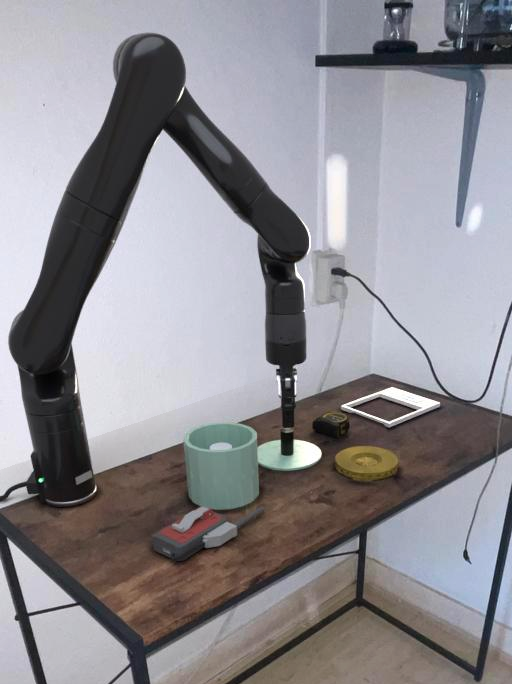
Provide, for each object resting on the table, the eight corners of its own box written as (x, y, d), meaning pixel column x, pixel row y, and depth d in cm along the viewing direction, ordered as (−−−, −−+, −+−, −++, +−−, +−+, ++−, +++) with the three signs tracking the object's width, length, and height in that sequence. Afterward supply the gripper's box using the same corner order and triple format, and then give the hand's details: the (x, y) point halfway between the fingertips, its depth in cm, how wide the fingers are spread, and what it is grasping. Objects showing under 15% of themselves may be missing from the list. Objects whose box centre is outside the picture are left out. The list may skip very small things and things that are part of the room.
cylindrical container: (186, 513, 119) (180, 452, 113) (192, 479, 130) (187, 423, 124) (259, 510, 119) (256, 450, 113) (259, 477, 130) (256, 421, 124)
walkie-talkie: (185, 572, 103) (267, 517, 117) (182, 547, 101) (267, 494, 115) (145, 553, 108) (229, 502, 122) (141, 529, 106) (227, 480, 119)
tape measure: (310, 433, 148) (310, 417, 146) (331, 424, 152) (331, 408, 150) (335, 442, 143) (335, 426, 142) (355, 432, 148) (356, 416, 146)
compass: (373, 451, 139) (373, 441, 138) (410, 474, 130) (411, 463, 129) (323, 464, 134) (323, 454, 133) (358, 489, 125) (359, 478, 124)
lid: (253, 474, 131) (251, 445, 128) (253, 445, 143) (252, 417, 140) (324, 472, 132) (324, 443, 128) (318, 443, 143) (318, 415, 140)
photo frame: (440, 401, 159) (389, 422, 149) (440, 406, 160) (388, 427, 150) (392, 386, 169) (341, 404, 158) (392, 390, 169) (340, 409, 159)
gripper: (264, 325, 131) (267, 405, 139) (265, 347, 119) (268, 434, 127) (304, 324, 131) (304, 404, 139) (308, 346, 119) (309, 432, 127)
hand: (287, 418), depth 133 cm, fingers open, 8 cm apart
